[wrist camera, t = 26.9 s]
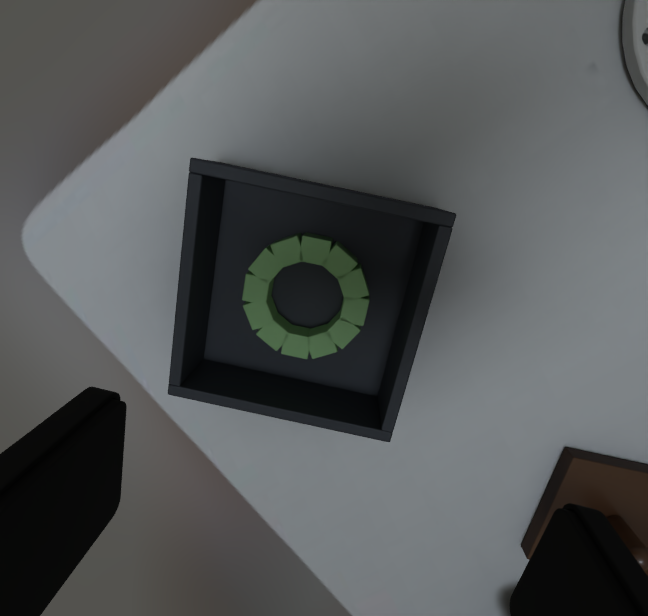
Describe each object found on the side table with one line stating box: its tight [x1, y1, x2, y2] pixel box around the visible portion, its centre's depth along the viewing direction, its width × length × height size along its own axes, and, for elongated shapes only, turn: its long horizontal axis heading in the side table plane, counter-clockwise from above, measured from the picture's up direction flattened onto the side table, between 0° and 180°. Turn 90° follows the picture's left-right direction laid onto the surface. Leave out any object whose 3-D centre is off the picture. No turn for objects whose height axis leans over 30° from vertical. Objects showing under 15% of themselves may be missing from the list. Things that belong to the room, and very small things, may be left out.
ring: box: [242, 232, 370, 359], centre depth 25 cm, size 8×8×2 cm
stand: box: [521, 447, 648, 576], centre depth 27 cm, size 9×9×4 cm
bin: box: [168, 158, 456, 442], centre depth 24 cm, size 13×13×4 cm
